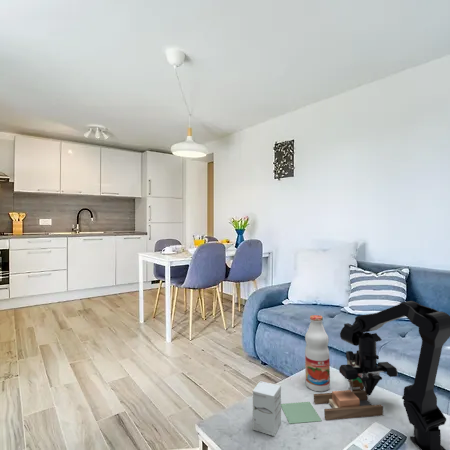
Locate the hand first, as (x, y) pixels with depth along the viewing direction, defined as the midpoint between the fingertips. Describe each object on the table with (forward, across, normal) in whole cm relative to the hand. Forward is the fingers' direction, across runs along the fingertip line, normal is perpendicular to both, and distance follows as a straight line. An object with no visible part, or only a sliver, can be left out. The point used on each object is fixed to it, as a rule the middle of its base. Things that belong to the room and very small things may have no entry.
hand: (368, 394), depth 107 cm
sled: (+4, +9, 0) cm, 10 cm away
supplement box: (+5, +38, +6) cm, 39 cm away
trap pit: (+4, +2, 0) cm, 5 cm away
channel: (+4, +8, 0) cm, 9 cm away
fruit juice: (+4, +12, -16) cm, 21 cm away
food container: (+4, -4, -14) cm, 15 cm away
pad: (+4, +25, 0) cm, 25 cm away
